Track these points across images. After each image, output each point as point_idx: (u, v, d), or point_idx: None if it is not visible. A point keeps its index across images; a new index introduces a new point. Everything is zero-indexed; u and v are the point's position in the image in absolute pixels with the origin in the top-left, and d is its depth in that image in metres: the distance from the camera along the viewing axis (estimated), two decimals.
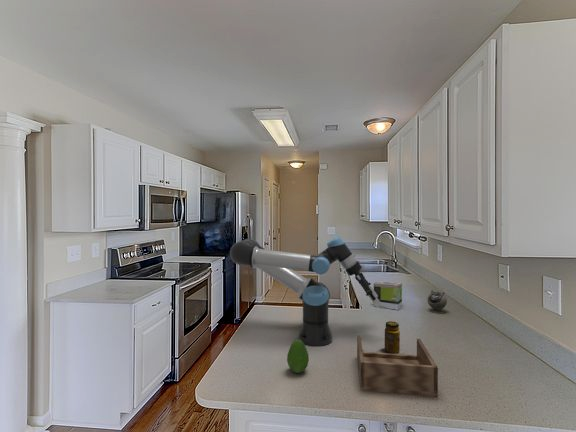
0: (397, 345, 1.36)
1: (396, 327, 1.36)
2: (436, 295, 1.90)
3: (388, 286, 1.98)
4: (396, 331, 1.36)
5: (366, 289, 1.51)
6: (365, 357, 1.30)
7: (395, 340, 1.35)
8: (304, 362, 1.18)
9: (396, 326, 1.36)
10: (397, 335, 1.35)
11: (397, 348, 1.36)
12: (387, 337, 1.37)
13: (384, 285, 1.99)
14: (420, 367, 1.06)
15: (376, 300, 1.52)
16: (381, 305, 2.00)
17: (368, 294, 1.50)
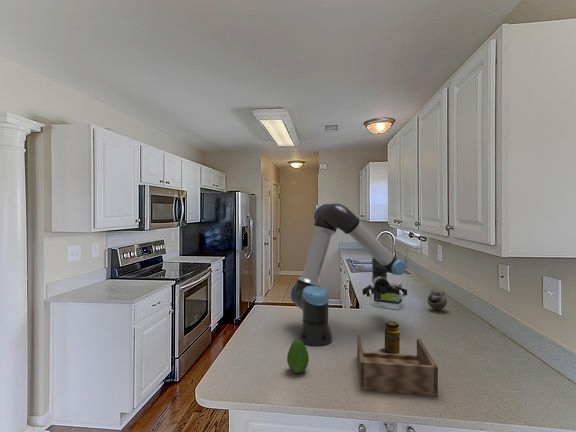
0: (397, 345, 1.36)
1: (396, 327, 1.36)
2: (436, 295, 1.90)
3: None
4: (396, 331, 1.36)
5: None
6: (365, 357, 1.30)
7: (395, 340, 1.35)
8: (304, 362, 1.18)
9: (396, 326, 1.36)
10: (397, 335, 1.35)
11: (397, 348, 1.36)
12: (387, 337, 1.37)
13: None
14: (420, 367, 1.06)
15: (402, 296, 1.48)
16: (381, 305, 2.00)
17: (406, 291, 1.52)
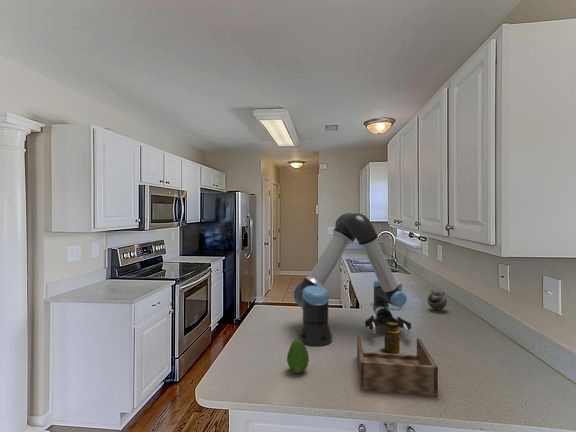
0: (397, 345, 1.36)
1: (396, 327, 1.36)
2: (436, 295, 1.90)
3: None
4: (396, 331, 1.36)
5: None
6: (365, 357, 1.30)
7: (395, 340, 1.35)
8: (304, 362, 1.18)
9: (396, 326, 1.36)
10: (397, 335, 1.35)
11: (397, 348, 1.36)
12: (387, 337, 1.37)
13: None
14: (420, 367, 1.06)
15: None
16: None
17: (410, 324, 1.49)
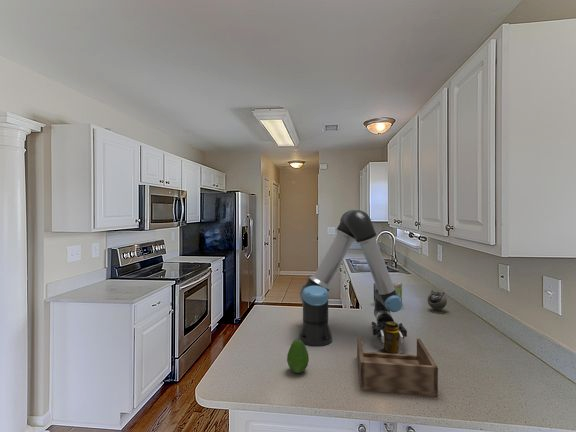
0: (396, 345, 1.36)
1: (395, 327, 1.36)
2: (436, 295, 1.90)
3: None
4: (395, 331, 1.36)
5: None
6: (365, 357, 1.30)
7: (395, 340, 1.35)
8: (304, 362, 1.18)
9: (395, 326, 1.36)
10: (396, 335, 1.35)
11: (396, 348, 1.36)
12: (386, 337, 1.37)
13: None
14: (420, 367, 1.06)
15: None
16: None
17: (406, 332, 1.39)
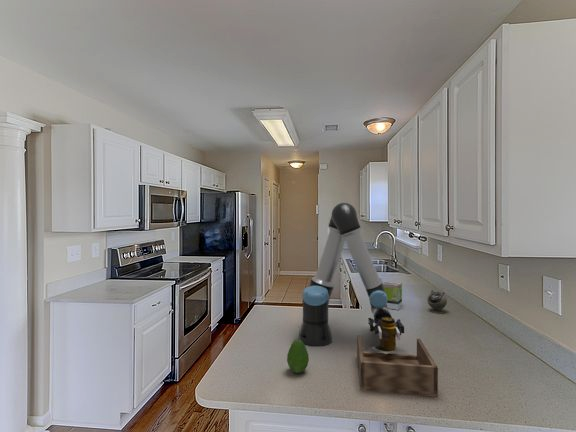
0: (393, 342, 1.29)
1: (392, 323, 1.29)
2: (436, 295, 1.90)
3: (388, 286, 1.98)
4: (392, 327, 1.29)
5: None
6: (365, 357, 1.30)
7: (391, 336, 1.29)
8: (304, 362, 1.18)
9: (392, 322, 1.29)
10: (392, 331, 1.29)
11: (393, 345, 1.29)
12: (382, 333, 1.30)
13: (384, 285, 1.99)
14: (420, 367, 1.06)
15: None
16: None
17: (403, 328, 1.32)
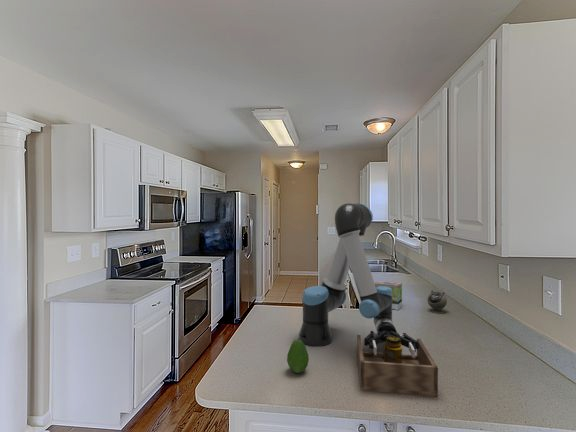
0: None
1: (398, 343, 1.16)
2: (436, 295, 1.90)
3: (388, 286, 1.98)
4: (398, 348, 1.16)
5: None
6: (365, 357, 1.30)
7: (397, 358, 1.16)
8: (304, 362, 1.18)
9: (398, 342, 1.16)
10: (398, 352, 1.16)
11: None
12: (387, 354, 1.17)
13: (384, 285, 1.99)
14: (420, 367, 1.06)
15: None
16: None
17: (418, 343, 1.21)
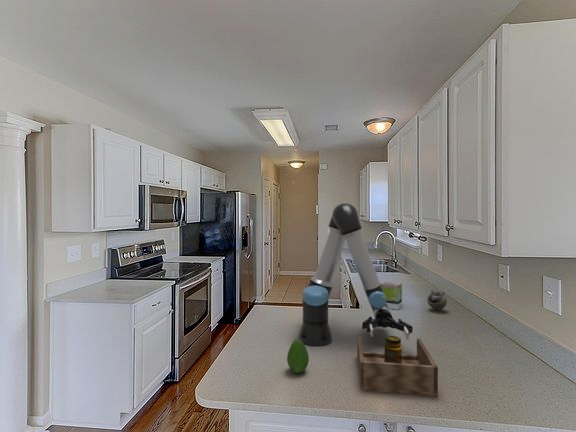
0: None
1: (398, 343, 1.16)
2: (436, 295, 1.90)
3: (388, 286, 1.98)
4: (398, 348, 1.16)
5: None
6: (365, 357, 1.30)
7: (397, 358, 1.16)
8: (304, 362, 1.18)
9: (398, 342, 1.16)
10: (398, 352, 1.16)
11: None
12: (387, 354, 1.17)
13: (384, 285, 1.99)
14: (420, 367, 1.06)
15: None
16: None
17: (412, 328, 1.35)
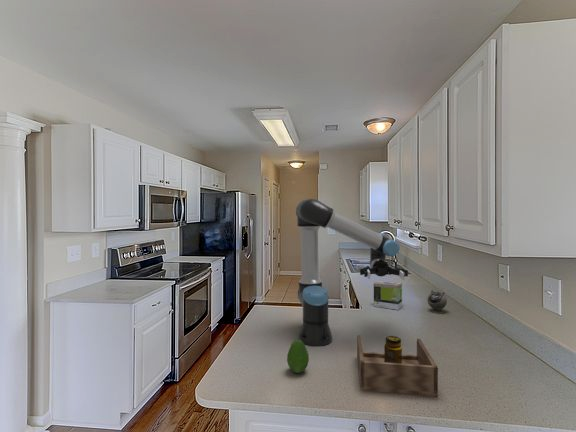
0: None
1: (398, 343, 1.16)
2: (436, 295, 1.90)
3: (388, 286, 1.98)
4: (398, 348, 1.16)
5: None
6: (365, 357, 1.30)
7: (397, 358, 1.16)
8: (304, 362, 1.18)
9: (398, 342, 1.16)
10: (398, 352, 1.16)
11: None
12: (387, 354, 1.17)
13: (384, 285, 1.99)
14: (420, 367, 1.06)
15: None
16: (381, 305, 2.00)
17: (407, 271, 1.42)
